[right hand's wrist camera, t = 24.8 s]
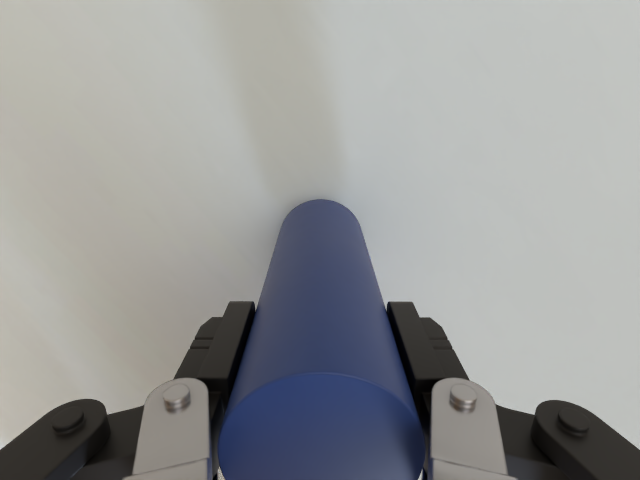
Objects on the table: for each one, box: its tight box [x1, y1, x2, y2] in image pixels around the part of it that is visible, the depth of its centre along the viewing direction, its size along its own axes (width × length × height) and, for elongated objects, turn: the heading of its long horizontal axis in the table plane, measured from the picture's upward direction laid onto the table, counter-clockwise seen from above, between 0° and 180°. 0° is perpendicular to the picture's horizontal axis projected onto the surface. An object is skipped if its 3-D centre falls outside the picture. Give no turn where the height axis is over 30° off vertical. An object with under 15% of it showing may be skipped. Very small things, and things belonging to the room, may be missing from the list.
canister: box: [217, 200, 426, 480], centre depth 14 cm, size 4×4×12 cm
